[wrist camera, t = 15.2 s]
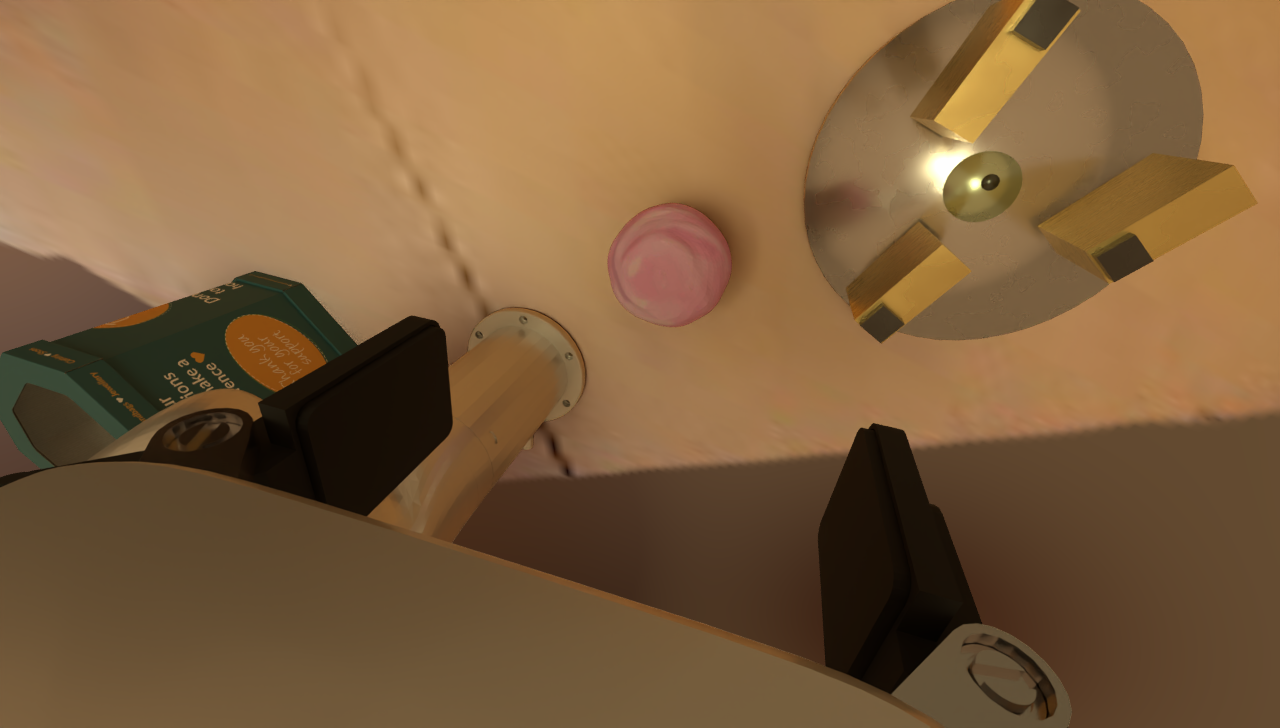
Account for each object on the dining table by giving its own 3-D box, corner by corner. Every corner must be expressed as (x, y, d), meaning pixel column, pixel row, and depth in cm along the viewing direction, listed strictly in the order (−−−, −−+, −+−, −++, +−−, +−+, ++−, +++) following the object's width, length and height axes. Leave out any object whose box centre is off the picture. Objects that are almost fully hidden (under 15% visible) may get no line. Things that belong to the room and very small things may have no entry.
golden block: (918, 221, 35) (945, 247, 29) (943, 244, 35) (975, 274, 29) (845, 288, 38) (855, 323, 32) (868, 308, 38) (883, 347, 32)
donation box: (311, 421, 65) (31, 610, 41) (213, 321, 61) (-158, 465, 37) (378, 368, 58) (84, 560, 34) (272, 249, 54) (-146, 372, 30)
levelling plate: (1063, 356, 38) (1079, 371, 36) (772, 298, 42) (771, 309, 40) (1275, 5, 27) (1315, -3, 25) (858, -31, 31) (863, -40, 29)
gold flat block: (1153, 152, 30) (1243, 166, 24) (1173, 184, 30) (1267, 205, 24) (1037, 226, 33) (1091, 254, 27) (1056, 253, 33) (1115, 287, 27)
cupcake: (697, 167, 39) (671, 186, 30) (759, 258, 41) (751, 301, 32) (613, 234, 43) (569, 267, 35) (673, 313, 45) (645, 364, 36)
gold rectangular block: (941, 135, 32) (976, 144, 26) (909, 116, 32) (936, 120, 26) (1025, 27, 29) (1087, 8, 23) (989, 5, 29) (1042, -19, 23)
